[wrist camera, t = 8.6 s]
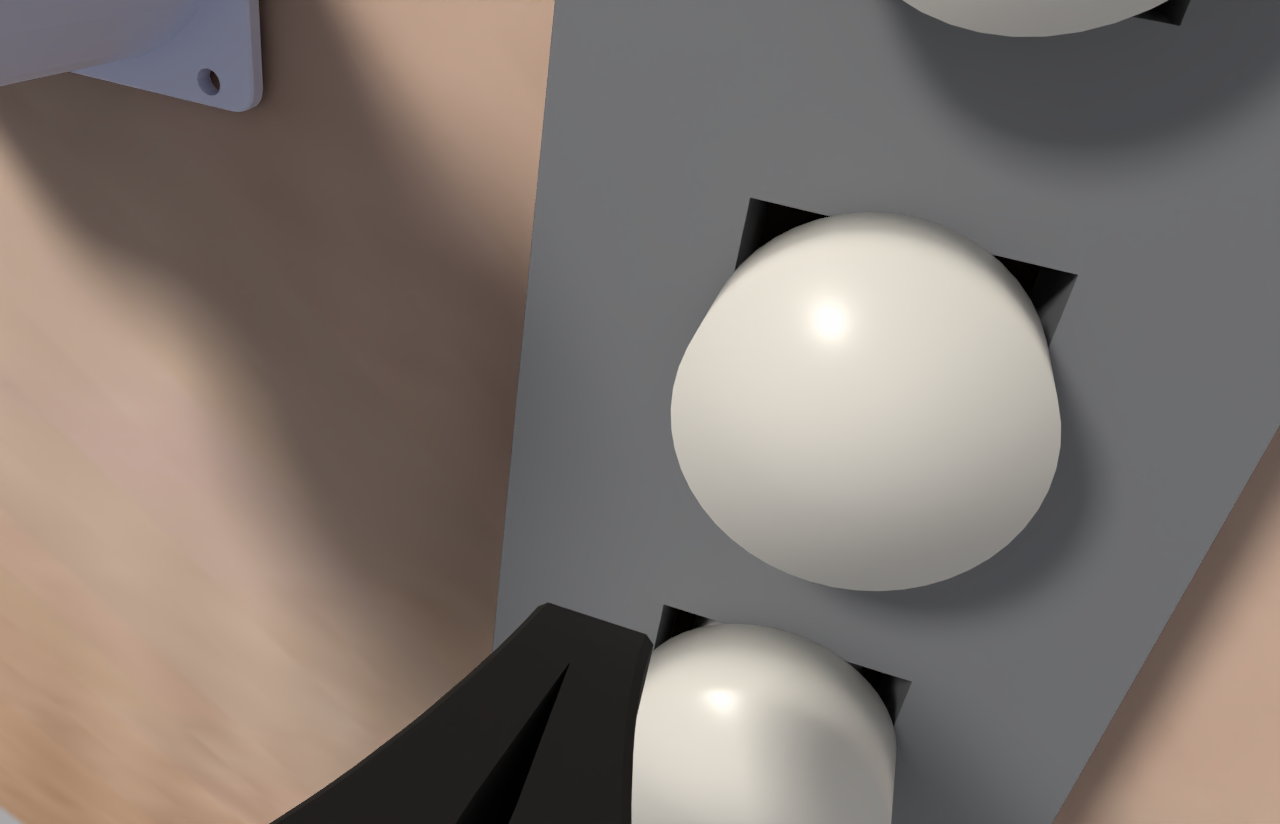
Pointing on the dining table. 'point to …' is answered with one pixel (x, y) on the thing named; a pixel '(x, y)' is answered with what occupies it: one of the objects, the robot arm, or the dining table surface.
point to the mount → (981, 211)
